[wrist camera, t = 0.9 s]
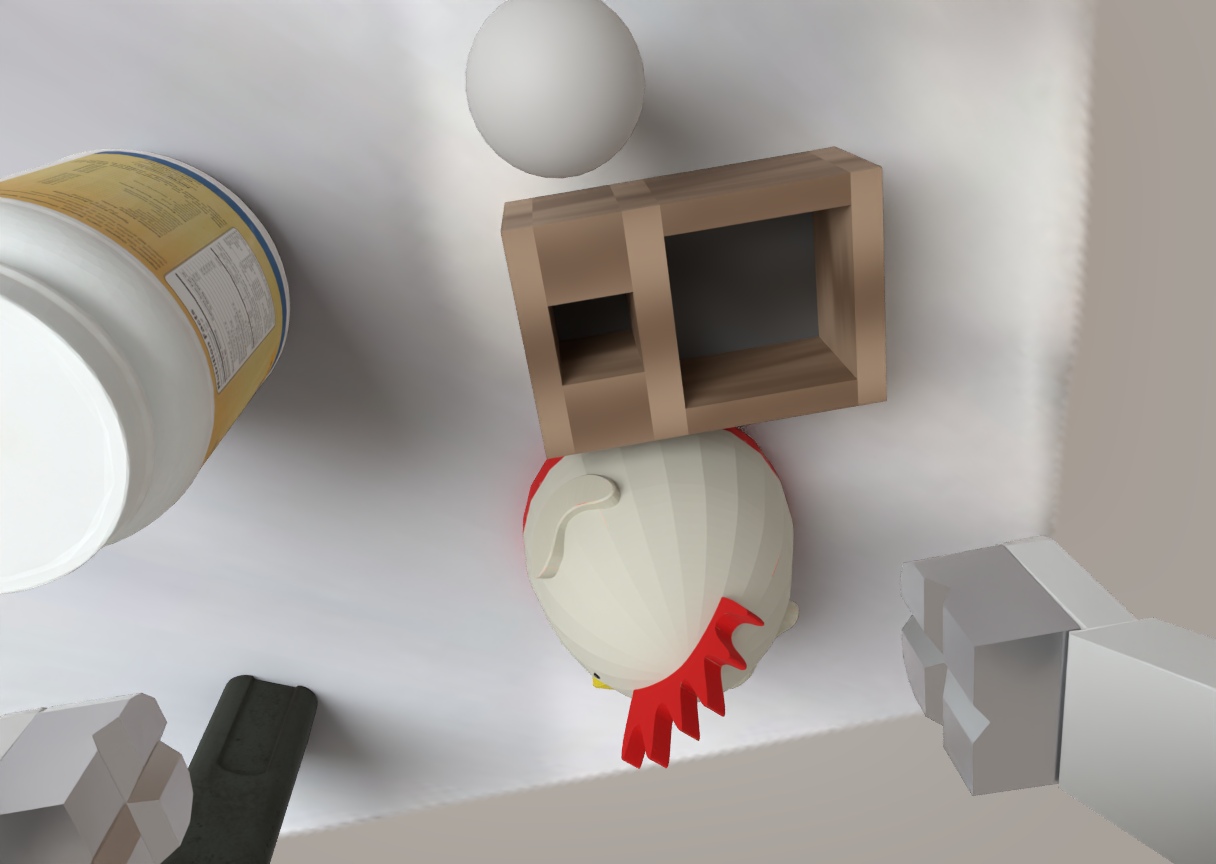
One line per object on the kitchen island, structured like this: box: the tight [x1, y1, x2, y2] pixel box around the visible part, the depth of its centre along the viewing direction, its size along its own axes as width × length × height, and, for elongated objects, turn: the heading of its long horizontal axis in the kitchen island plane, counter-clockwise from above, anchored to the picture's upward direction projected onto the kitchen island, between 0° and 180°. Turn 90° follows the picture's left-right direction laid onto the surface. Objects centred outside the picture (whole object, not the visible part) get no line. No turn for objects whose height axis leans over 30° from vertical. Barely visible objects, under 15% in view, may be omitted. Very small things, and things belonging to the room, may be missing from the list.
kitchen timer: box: [523, 427, 799, 769], centre depth 41 cm, size 14×14×15 cm
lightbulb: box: [466, 0, 645, 178], centre depth 33 cm, size 6×6×11 cm
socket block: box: [501, 147, 887, 459], centre depth 39 cm, size 10×15×6 cm, turn 98°
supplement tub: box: [0, 149, 290, 594], centre depth 33 cm, size 12×12×17 cm
